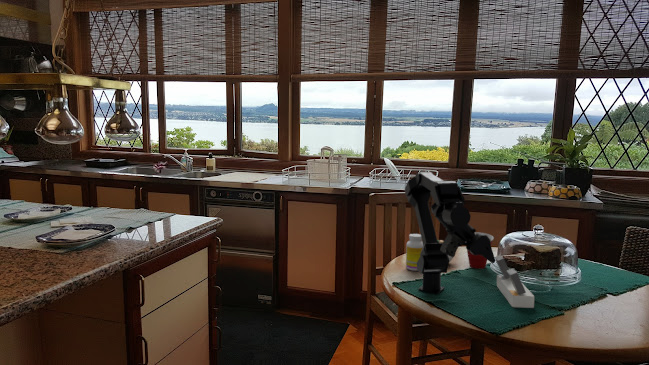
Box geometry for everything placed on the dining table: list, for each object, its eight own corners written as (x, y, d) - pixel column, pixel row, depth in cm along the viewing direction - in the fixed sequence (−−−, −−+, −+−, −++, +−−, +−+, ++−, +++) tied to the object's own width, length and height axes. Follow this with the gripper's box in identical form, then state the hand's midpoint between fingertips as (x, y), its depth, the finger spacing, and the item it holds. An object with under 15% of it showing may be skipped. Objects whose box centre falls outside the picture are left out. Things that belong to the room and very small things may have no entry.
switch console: (512, 307, 130) (512, 294, 130) (496, 285, 148) (497, 274, 148) (533, 307, 130) (534, 295, 129) (515, 286, 147) (515, 275, 147)
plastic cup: (461, 269, 166) (462, 237, 164) (463, 261, 176) (464, 231, 174) (492, 272, 162) (493, 240, 160) (493, 264, 171) (494, 233, 170)
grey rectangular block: (519, 295, 130) (510, 275, 129) (515, 290, 134) (506, 270, 133) (526, 292, 129) (516, 272, 129) (521, 287, 133) (512, 268, 133)
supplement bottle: (424, 272, 163) (424, 237, 161) (405, 271, 164) (406, 237, 163) (423, 266, 169) (424, 233, 168) (406, 265, 171) (406, 232, 169)
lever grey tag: (506, 279, 144) (497, 260, 143) (502, 275, 148) (494, 257, 147) (512, 276, 143) (503, 258, 143) (508, 272, 147) (500, 254, 147)
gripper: (424, 233, 141) (458, 268, 142) (441, 247, 123) (479, 286, 124) (450, 209, 141) (483, 244, 142) (471, 219, 122) (509, 259, 123)
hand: (487, 258), depth 133 cm, fingers open, 9 cm apart
